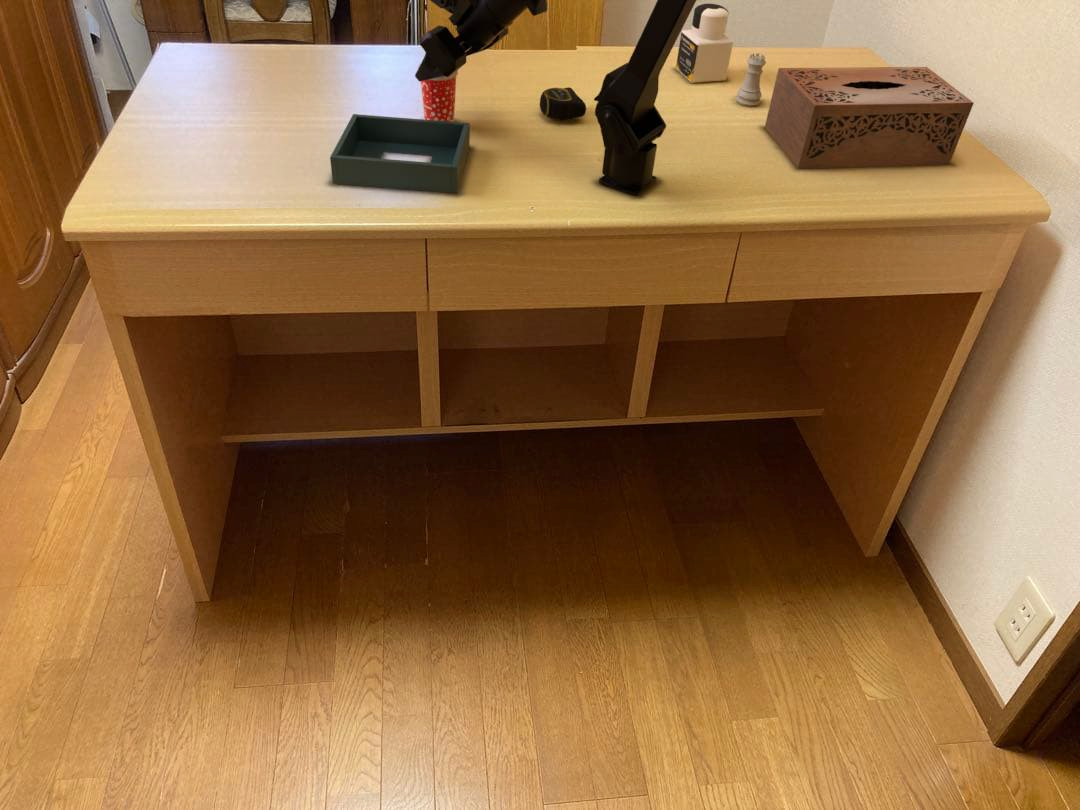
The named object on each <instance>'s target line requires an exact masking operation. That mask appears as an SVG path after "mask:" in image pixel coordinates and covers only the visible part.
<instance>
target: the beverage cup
mask: <svg viewBox="0 0 1080 810" xmlns="http://www.w3.org/2000/svg"><path fill="white" fill-rule="evenodd" d="M420 65H421V63H420V64H418V66H417V69H418V68H419V66H420ZM458 71H459V69H458V70H457V71H456V72H455V73H453V74H452V75H450V76H449V77H446V76H443V77H438V78H433V79H429V80H425V81H420V88H421V98H422V99H421V100H422V108H423V118H424V119H423V120H436V121H449V122H455V112H456V111H455V110H456V109H455V108H456V107H455V106H456V88H457V76H458V74H459V72H458Z"/></svg>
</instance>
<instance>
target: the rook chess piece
mask: <svg viewBox="0 0 1080 810" xmlns="http://www.w3.org/2000/svg"><path fill="white" fill-rule="evenodd" d="M746 62H747V65H748V66H747V68H746V74H745V77H744V80H743V82H742V85H740V88H738V89H737V92H736V96H735V101H736V102H737V104H738V105H740V106H743V107H757V106H758V105H759V104H760V103H761V102H762V101H761V98H762V92H761V87H760V85H761V76H762V73H763V67H764V66H765V65H766V64H767V61H766V56H765V55H764V54H760V53H756V54H755V53H751V54H750V55H749V57H748V58H747V59H746Z"/></svg>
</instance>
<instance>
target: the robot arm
mask: <svg viewBox="0 0 1080 810" xmlns="http://www.w3.org/2000/svg"><path fill="white" fill-rule="evenodd" d="M429 1H430V2H431V3H433V4H434V5H435V6H436V7H438V8H439V9H444V11H446V12H448V13H449V14H451V15H450V16H449V17H448V20H449V21H450V23H451V24H452V25H453V26H455V30H456V33H457V34H458V35H456V37H455V36H454V35H453V33H452V32H451V31H450V28H448V27H447V26H443V25H437V26H435V27H433V28H431V29H430V30H429V31H427V32H426V33H425V34H423V36H421V38H420V39H419V46H421V48H422V49H423V51H424V52H425V54H424V56H423V59H422V61H421V63H420V64H421V65H420V64H419V65H420V66H419V65H418V66H419V68H418V67H417V69H416V70H417V71H416V72H415V74H414V77H415V79H416V80H417V81H418V82H421V81H425V80H429V79H433V78H438V77H443V76H446V77H449V76H450V75H452V74H453V73H455V72H456V71H457V70H458V71H459V70H460V69H461V68H462V67H463V66H464V65H465V64H466V63H467V57H468V56H472V55H475V54H477V53H481V52H483V51H486V50H489V49H490V48H492V47H493V46H495V45H496V44H498V43H499V42H500V41H502V40H503V39H504V38H505V37H506V36H507V35H508V34H509V27H510V26H512V24H514V21H515V20H516V19H517V18H518V17H520V16H521V15H522V14H523V13H524V12H525V11H526V10H528V11H529V12H530V14H531V16H533V17H536V16H538V15H541V14H544V13H546V12H547V11H548V0H429ZM696 2H697V0H656V2H655V5H654V7H653V9H652V11H651V13H650V15H649V17H648V20H647V22H646V23H645V26H644V28H643V30H642V33H641V35H640V37H639V39H638V41H637V43H636V45H635V47H634V49H633V52H632V53H631V56H630V58H629V60H628V62H626V63H624V64H622V65H620V66H618V67H617V68H615V69H613V70H611V71H610V72H607V73H606V74H605V76H604V79H603V80H602V84H601V88H600V91H599V92H598V94H597V95H595V97H594V98H593V101H595V102H597V103H596V105H595V108H594V116H595V117H596V120H597V123H598V125H599V128H600V133H601V137H602V143H603V147H604V151H603V154H604V155H603V159H602V160H603V161H602V170H601V173H602V176H601V177H600V178H599V179H598V184H600V185H602V186H606V187H608V188H611V189H614V190H617V191H620V192H623V193H625V194H629V195H632V196H636V197H637V196H639V195H640V194H642V193H643V192H644V191H645V190H647V189H648V188H649V187H650V186H652V185H653V184H654V183H656V181H657V179H658V178H657V176H656V175H653V174H654V169H655V161H656V154H657V147H658V144H657V143H656V142H655V143H654V141H655V140H656V139H659V138H661V137H662V135H663V134H664V132H665V130H666V128H667V124H666V122H665V121H664V118H663V117H662V115H661V113H660V112H659V110H658V109H657V107H656V105H655V103H656V101H657V97H658V95H659V83H660V82H659V78H660V74H661V71H662V70H663V67H664V65H665V64H666V62H667V60H668V58H669V56H670V53H671V52H672V50H673V48H674V46H675V44H676V42H677V40H678V38H679V36H680V35H681V32H682V30H683V28H684V26H685V24H686V22H687V20H688V18H689V16H690V14H691V12H692V10H693V8H694V6H695V4H696Z"/></svg>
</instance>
